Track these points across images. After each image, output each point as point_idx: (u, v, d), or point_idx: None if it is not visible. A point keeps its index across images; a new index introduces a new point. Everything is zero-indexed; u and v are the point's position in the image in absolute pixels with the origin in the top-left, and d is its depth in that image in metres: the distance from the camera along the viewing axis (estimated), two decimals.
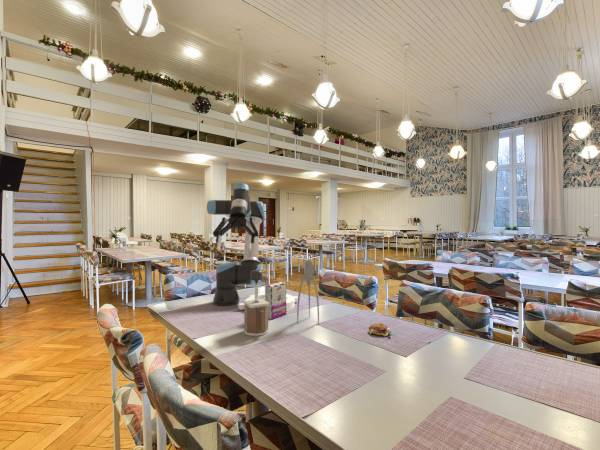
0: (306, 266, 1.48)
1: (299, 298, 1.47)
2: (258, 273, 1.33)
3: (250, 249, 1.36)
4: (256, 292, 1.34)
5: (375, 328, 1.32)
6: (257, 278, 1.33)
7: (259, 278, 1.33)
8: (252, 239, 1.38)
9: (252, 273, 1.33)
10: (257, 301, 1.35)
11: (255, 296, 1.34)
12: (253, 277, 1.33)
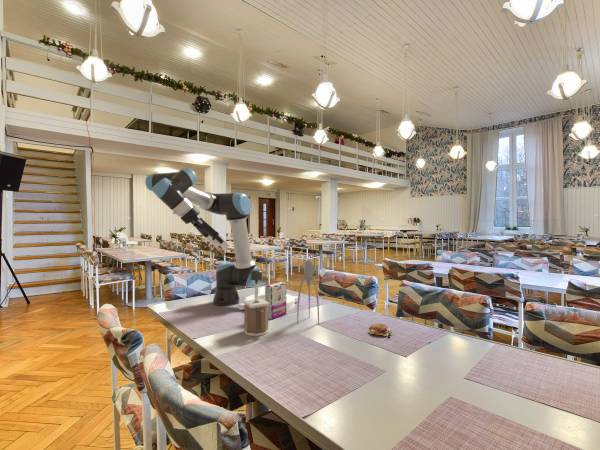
0: (306, 266, 1.48)
1: (299, 298, 1.47)
2: (258, 273, 1.33)
3: (227, 247, 1.28)
4: (256, 292, 1.34)
5: (375, 328, 1.32)
6: (257, 278, 1.33)
7: (259, 278, 1.33)
8: (218, 241, 1.26)
9: (252, 273, 1.33)
10: (257, 301, 1.35)
11: (255, 296, 1.34)
12: (253, 277, 1.33)
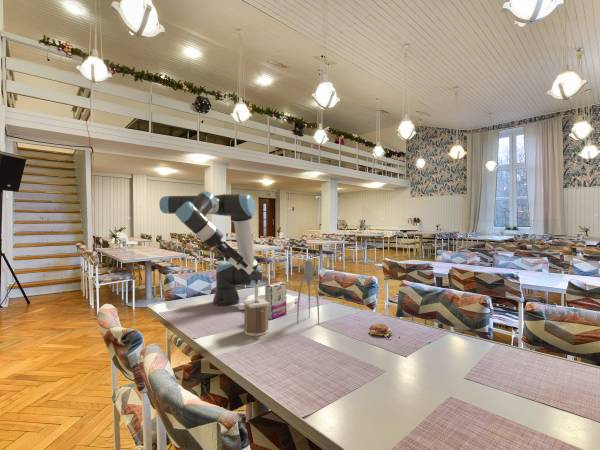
0: (306, 266, 1.48)
1: (299, 298, 1.47)
2: (258, 273, 1.33)
3: None
4: (256, 292, 1.34)
5: (376, 329, 1.32)
6: (257, 278, 1.33)
7: (259, 278, 1.33)
8: (243, 266, 1.23)
9: (252, 273, 1.33)
10: (257, 301, 1.35)
11: (255, 296, 1.34)
12: (253, 277, 1.33)
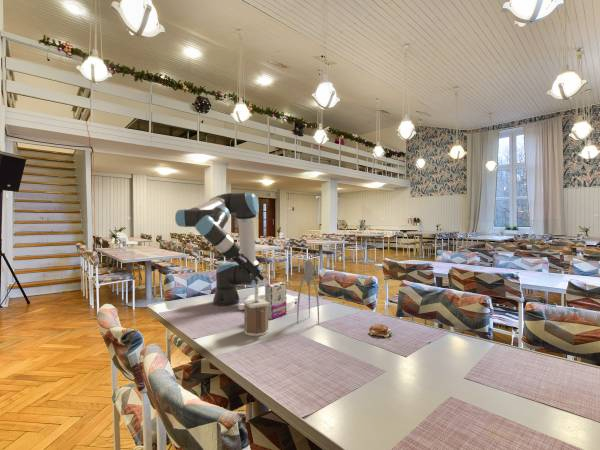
0: (306, 266, 1.48)
1: (299, 298, 1.47)
2: None
3: (267, 283, 1.34)
4: (256, 292, 1.34)
5: (376, 329, 1.31)
6: None
7: None
8: (259, 278, 1.32)
9: None
10: (257, 301, 1.35)
11: (255, 296, 1.34)
12: (253, 277, 1.33)
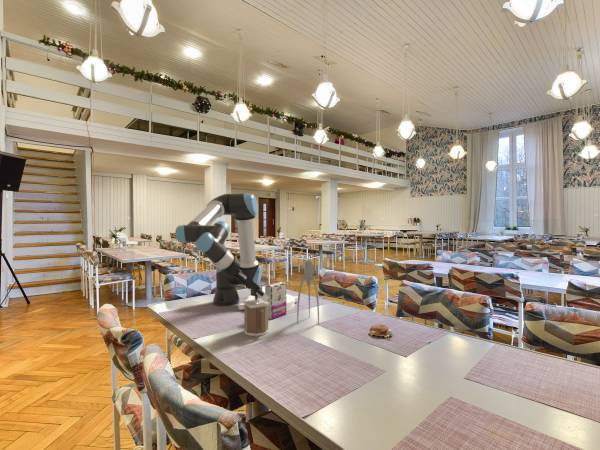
0: (306, 266, 1.48)
1: (299, 298, 1.47)
2: None
3: (267, 299, 1.34)
4: None
5: (376, 329, 1.31)
6: None
7: None
8: (259, 294, 1.32)
9: None
10: None
11: None
12: (253, 293, 1.33)
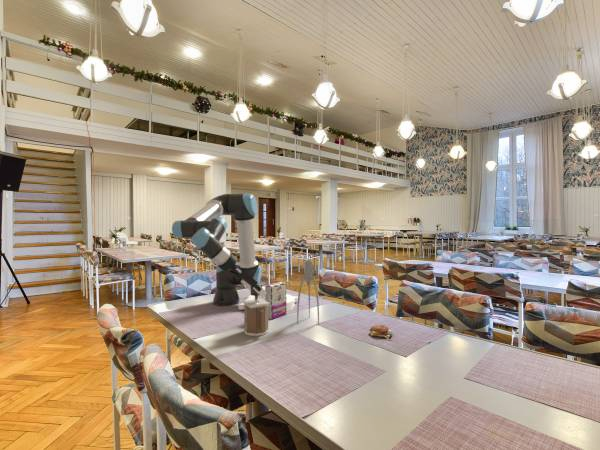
0: (306, 266, 1.48)
1: (299, 298, 1.47)
2: None
3: None
4: None
5: (376, 330, 1.30)
6: (257, 293, 1.33)
7: None
8: (257, 289, 1.27)
9: None
10: None
11: None
12: (253, 292, 1.33)
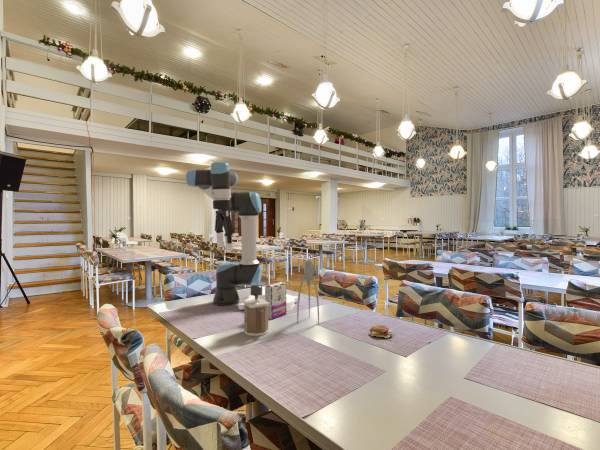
0: (306, 266, 1.48)
1: (299, 298, 1.47)
2: (258, 288, 1.33)
3: None
4: None
5: (376, 330, 1.30)
6: (257, 293, 1.33)
7: (259, 293, 1.33)
8: (227, 240, 1.26)
9: (252, 288, 1.33)
10: None
11: None
12: (253, 292, 1.33)
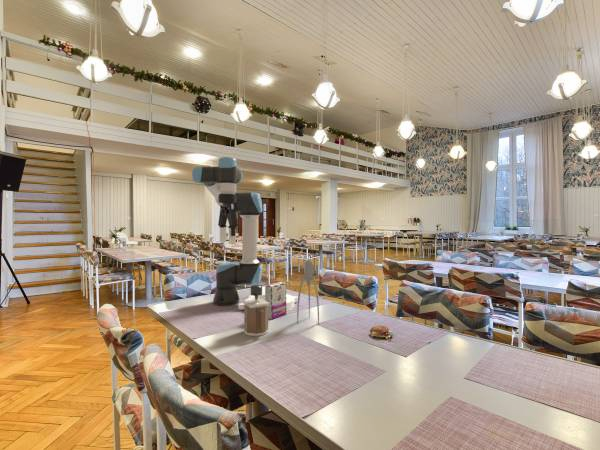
0: (306, 266, 1.48)
1: (299, 298, 1.47)
2: (258, 288, 1.33)
3: (233, 243, 1.28)
4: None
5: (377, 330, 1.29)
6: (257, 293, 1.33)
7: (259, 293, 1.33)
8: (231, 232, 1.27)
9: (252, 288, 1.33)
10: None
11: None
12: (253, 292, 1.33)
